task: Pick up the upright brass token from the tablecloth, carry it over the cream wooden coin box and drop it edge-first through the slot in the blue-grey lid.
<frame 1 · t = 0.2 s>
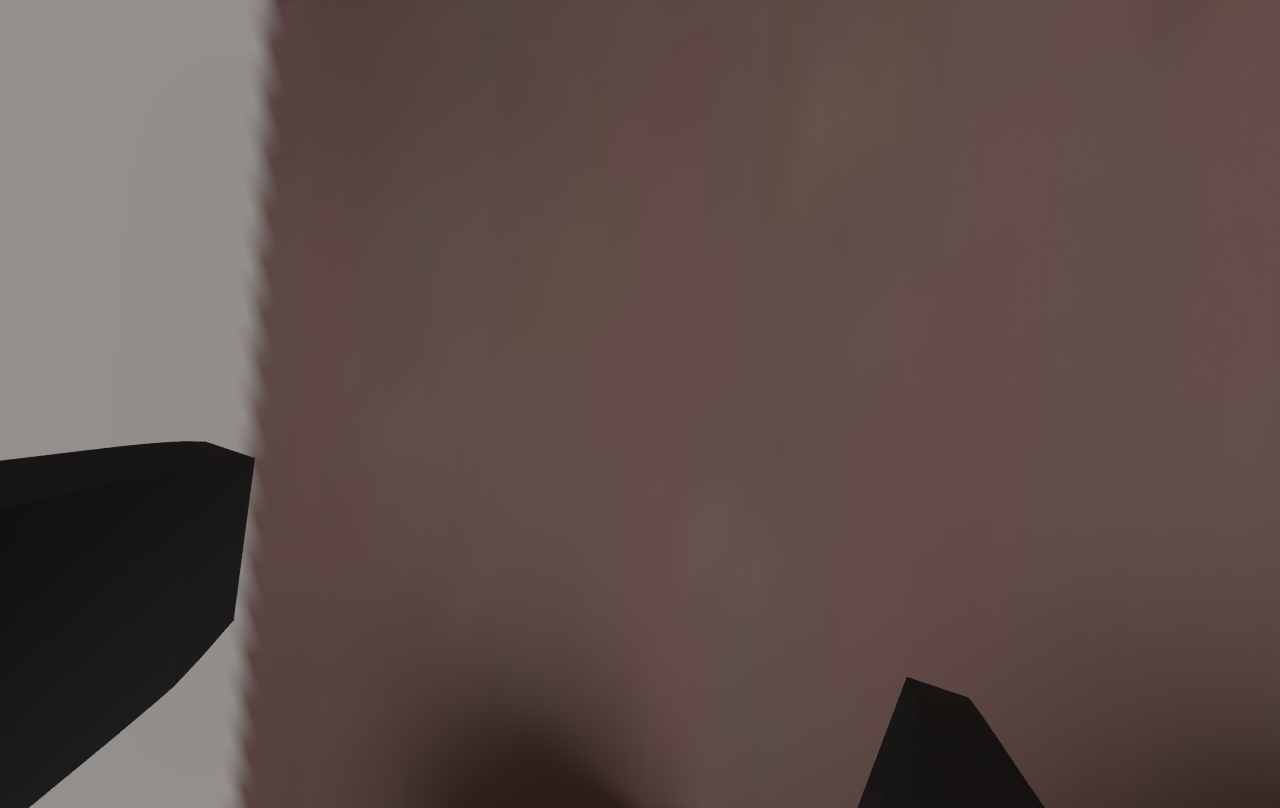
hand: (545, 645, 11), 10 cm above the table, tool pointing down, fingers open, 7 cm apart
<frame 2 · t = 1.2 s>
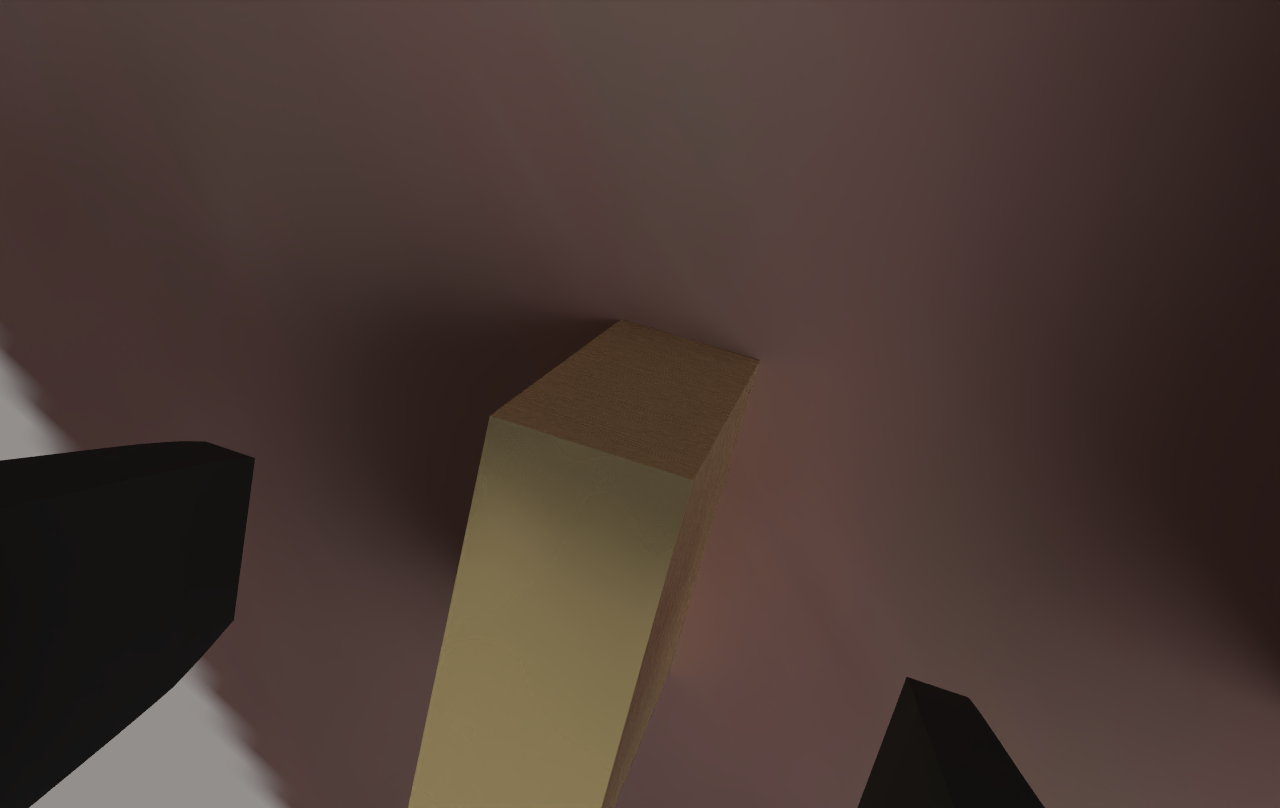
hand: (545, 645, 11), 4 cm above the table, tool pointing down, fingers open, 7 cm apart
token: (646, 501, 15), on the table
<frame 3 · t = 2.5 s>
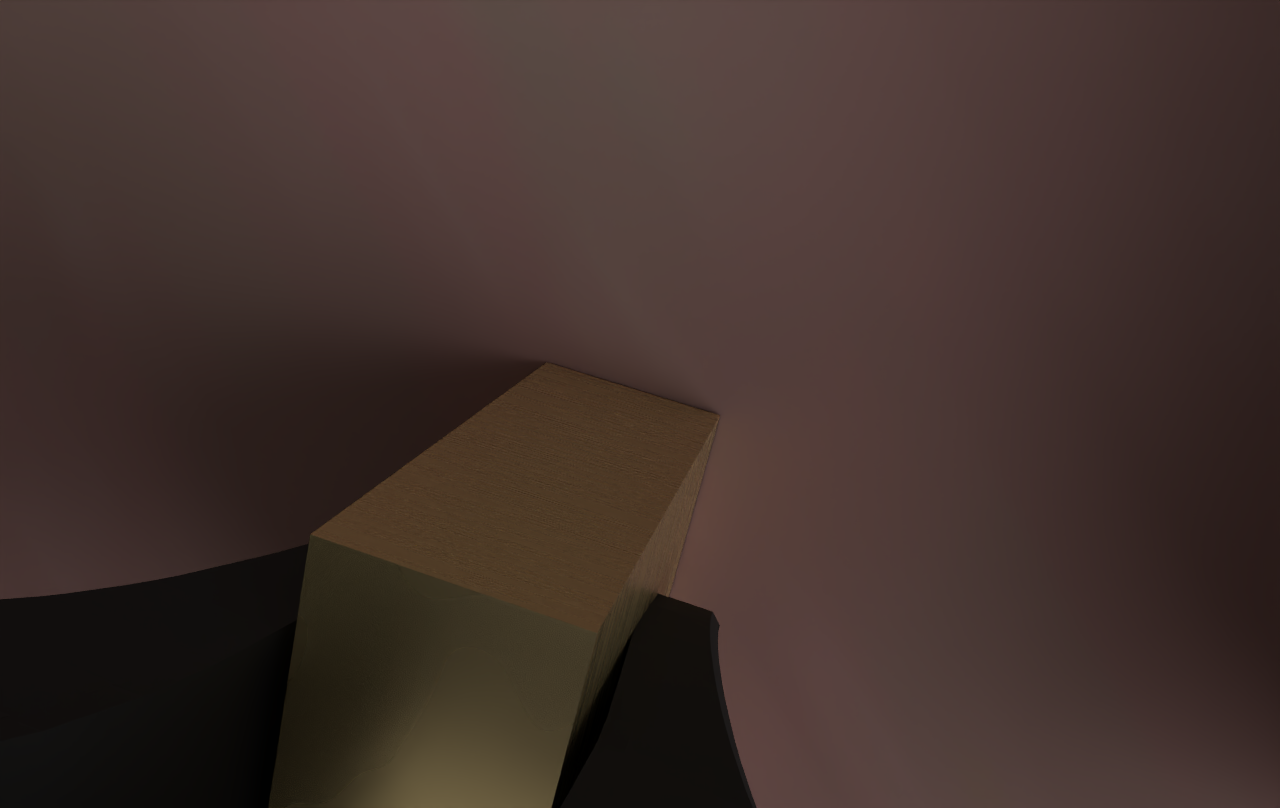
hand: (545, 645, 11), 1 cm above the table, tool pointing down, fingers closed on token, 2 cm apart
token: (582, 586, 12), on the table, touching gripper
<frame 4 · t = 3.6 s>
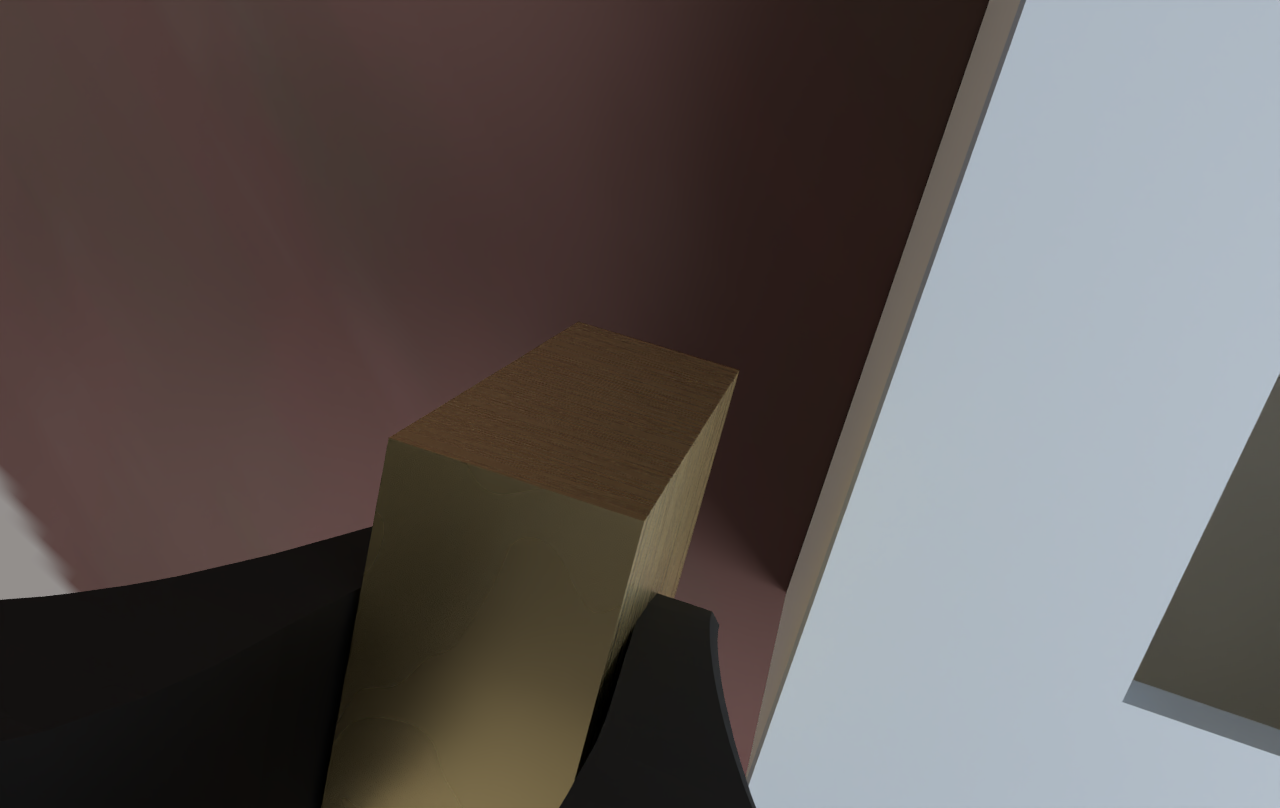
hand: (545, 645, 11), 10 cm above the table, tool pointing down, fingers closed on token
coin box: (1223, 345, 18), on the table
token: (609, 533, 13), point 7 cm above the table, touching gripper
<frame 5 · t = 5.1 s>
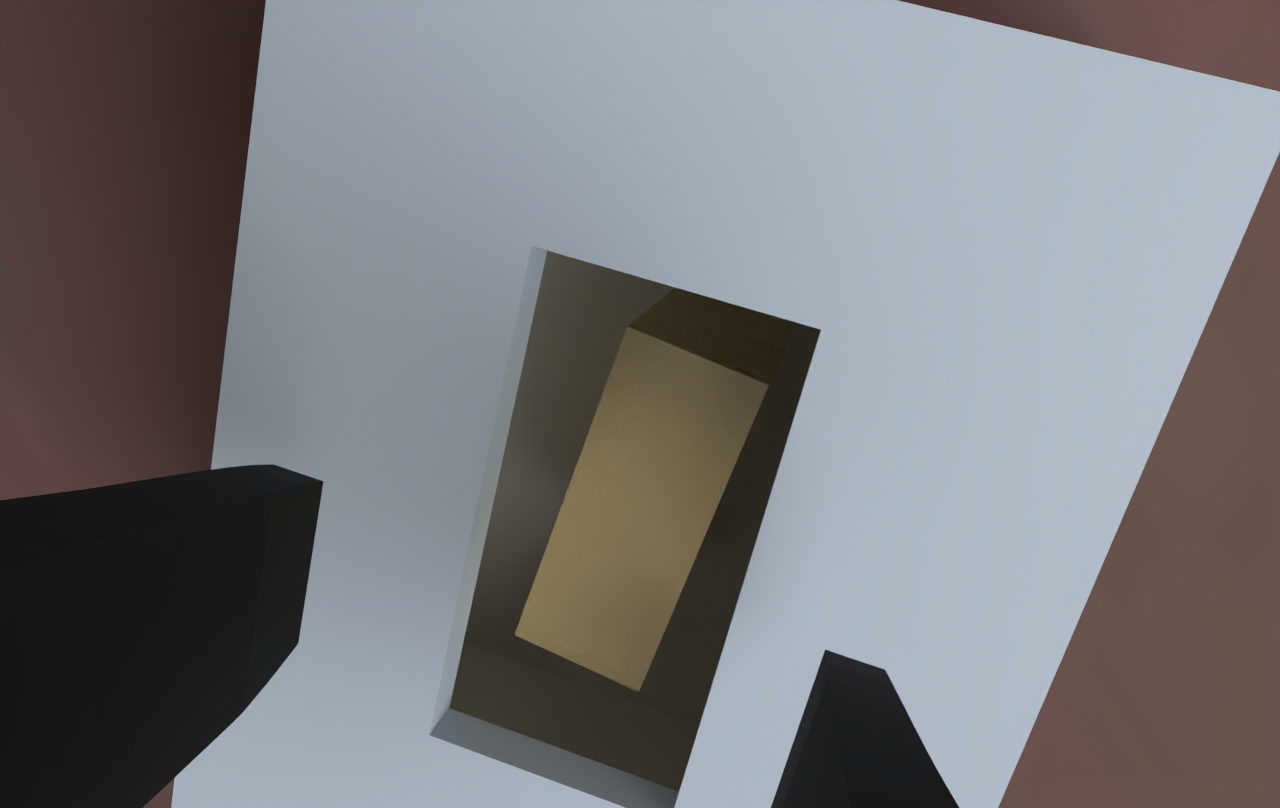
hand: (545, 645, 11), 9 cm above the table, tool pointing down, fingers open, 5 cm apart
coin box: (700, 405, 20), on the table
token: (696, 418, 19), point 1 cm above the table, touching coin box
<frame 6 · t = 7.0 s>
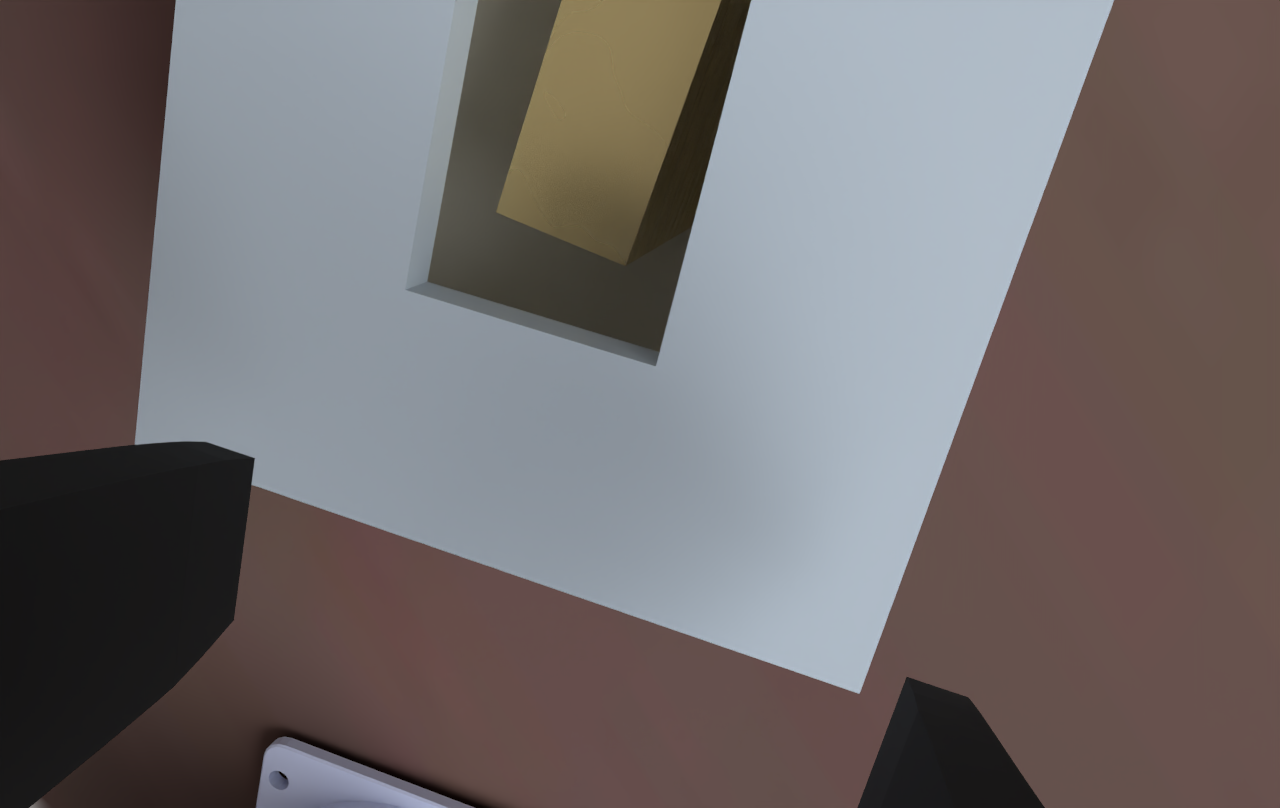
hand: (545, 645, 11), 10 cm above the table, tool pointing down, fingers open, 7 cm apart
coin box: (693, 70, 19), on the table
token: (689, 73, 18), point 1 cm above the table, touching coin box
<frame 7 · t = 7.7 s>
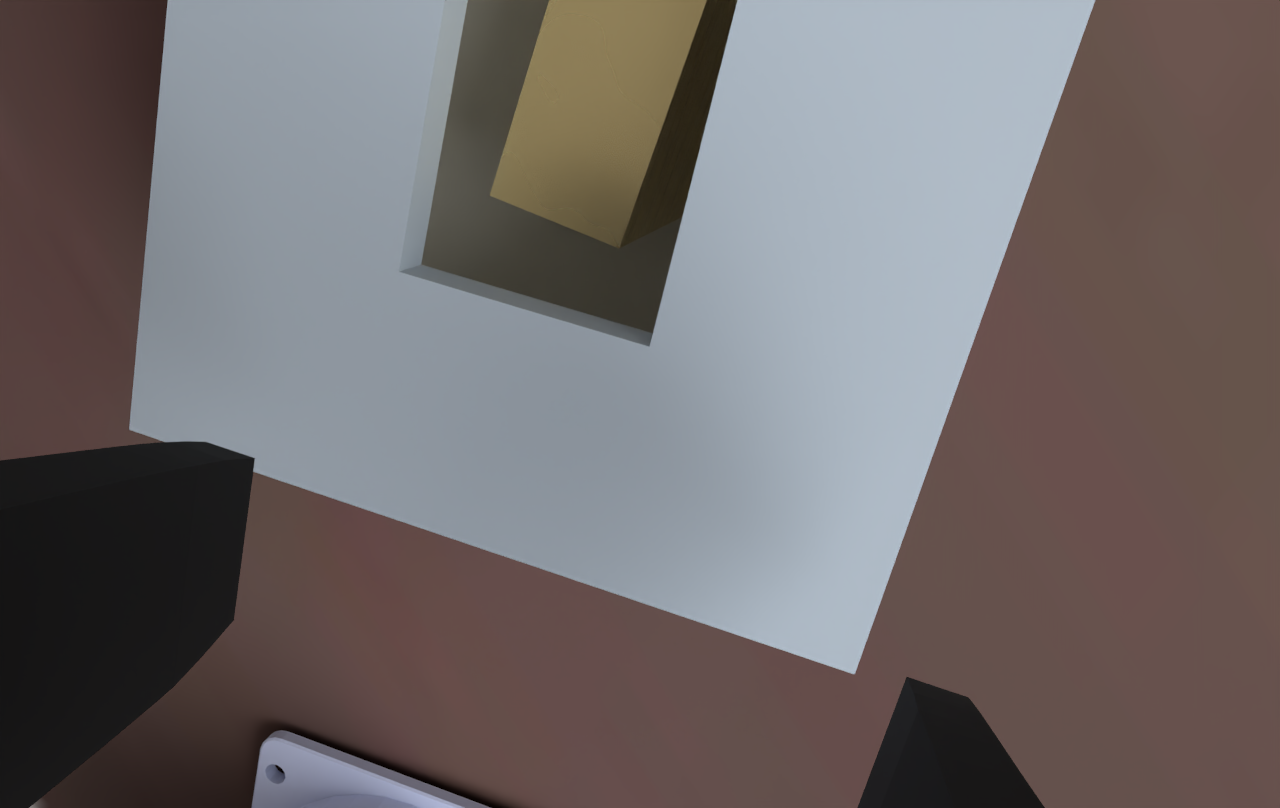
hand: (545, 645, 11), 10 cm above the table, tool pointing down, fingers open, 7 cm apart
coin box: (687, 58, 19), on the table
token: (683, 61, 18), point 1 cm above the table, touching coin box
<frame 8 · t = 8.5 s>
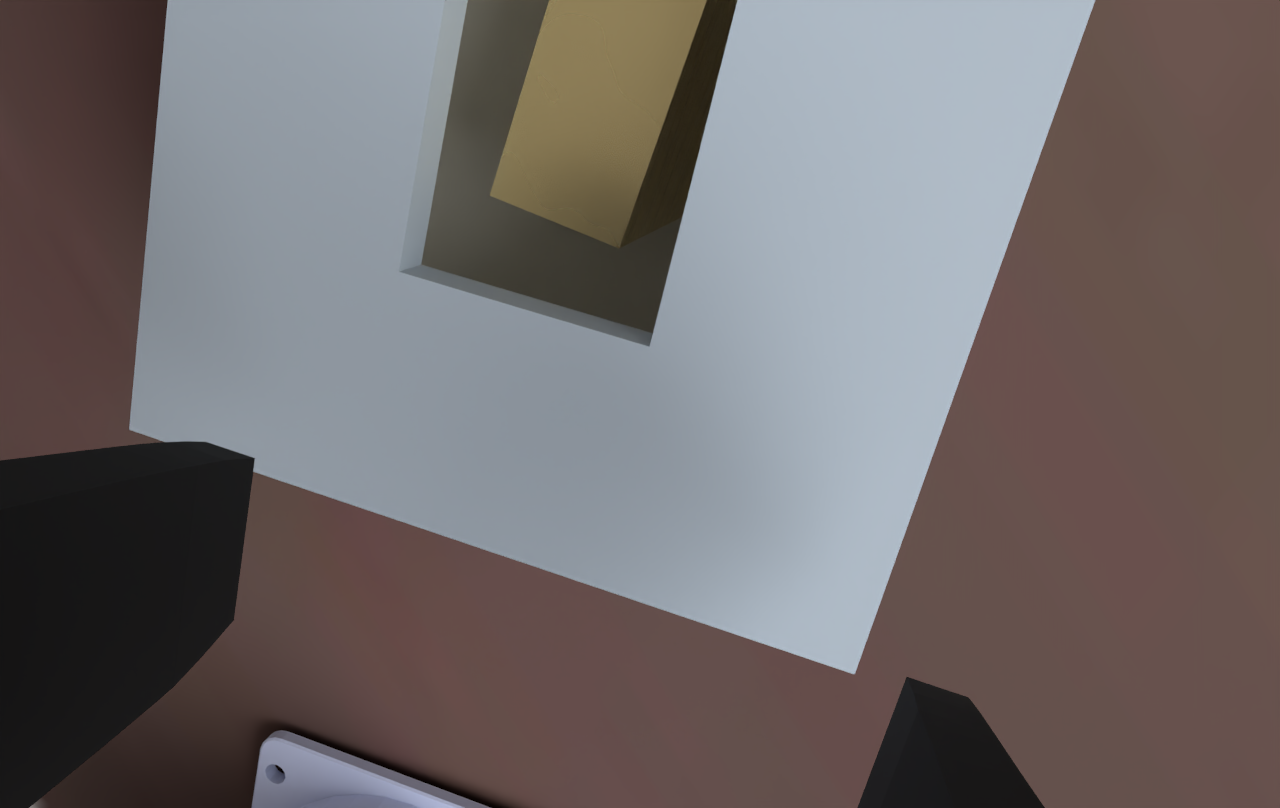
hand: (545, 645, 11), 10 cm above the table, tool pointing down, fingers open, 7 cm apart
coin box: (687, 58, 19), on the table
token: (683, 61, 18), point 1 cm above the table, touching coin box
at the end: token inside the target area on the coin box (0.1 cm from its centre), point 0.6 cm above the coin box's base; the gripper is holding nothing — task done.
